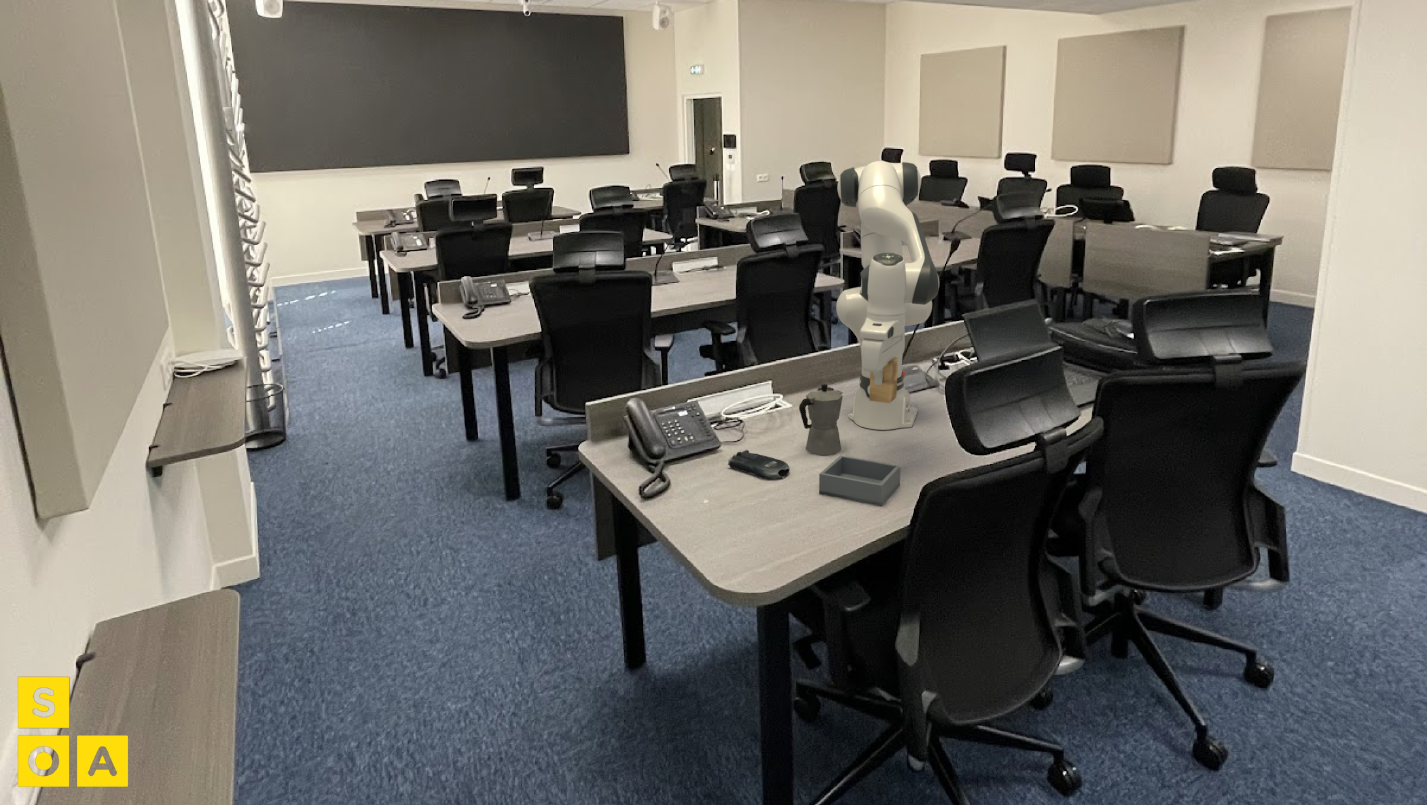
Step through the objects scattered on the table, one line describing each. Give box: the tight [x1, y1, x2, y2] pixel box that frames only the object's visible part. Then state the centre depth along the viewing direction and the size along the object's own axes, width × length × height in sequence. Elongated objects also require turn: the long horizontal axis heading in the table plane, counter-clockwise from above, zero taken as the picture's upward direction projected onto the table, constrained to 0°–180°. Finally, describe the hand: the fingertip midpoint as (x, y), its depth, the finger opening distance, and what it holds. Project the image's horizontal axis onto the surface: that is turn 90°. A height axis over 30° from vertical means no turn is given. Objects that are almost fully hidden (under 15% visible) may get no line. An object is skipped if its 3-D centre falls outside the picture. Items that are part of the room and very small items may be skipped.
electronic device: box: [727, 449, 790, 480], centre depth 216 cm, size 9×6×15 cm
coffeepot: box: [798, 383, 844, 457], centre depth 225 cm, size 15×9×18 cm, turn 129°
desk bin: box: [818, 454, 901, 507], centre depth 203 cm, size 13×15×5 cm
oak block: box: [869, 357, 898, 403], centre depth 208 cm, size 5×5×10 cm
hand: (883, 380), depth 208 cm, fingers closed on oak block, 5 cm apart
